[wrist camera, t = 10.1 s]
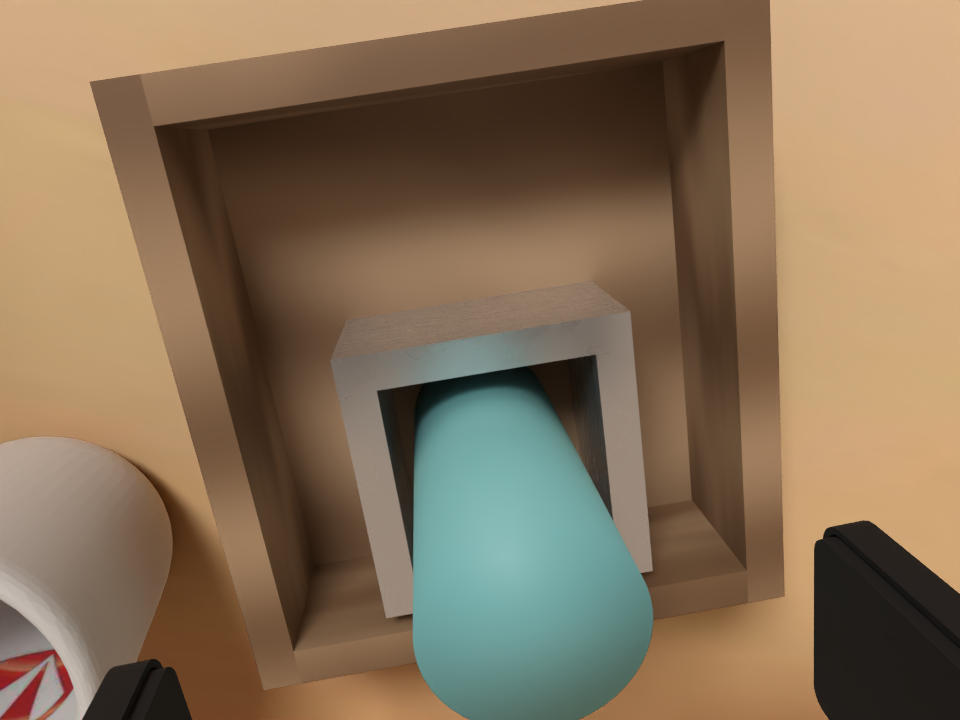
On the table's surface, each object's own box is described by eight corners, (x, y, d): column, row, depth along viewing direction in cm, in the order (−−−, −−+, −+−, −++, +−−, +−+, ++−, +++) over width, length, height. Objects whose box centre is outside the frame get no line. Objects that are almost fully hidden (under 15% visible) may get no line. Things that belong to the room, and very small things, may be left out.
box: (170, 97, 19) (89, 81, 14) (684, 21, 20) (769, -18, 15) (294, 580, 24) (264, 690, 19) (711, 507, 24) (784, 596, 19)
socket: (346, 320, 20) (330, 360, 16) (590, 280, 21) (630, 311, 17) (391, 537, 22) (386, 618, 19) (612, 498, 23) (652, 571, 19)
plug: (403, 362, 21) (391, 547, 11) (540, 340, 21) (642, 503, 11) (426, 486, 22) (434, 749, 12) (555, 464, 22) (661, 707, 13)
